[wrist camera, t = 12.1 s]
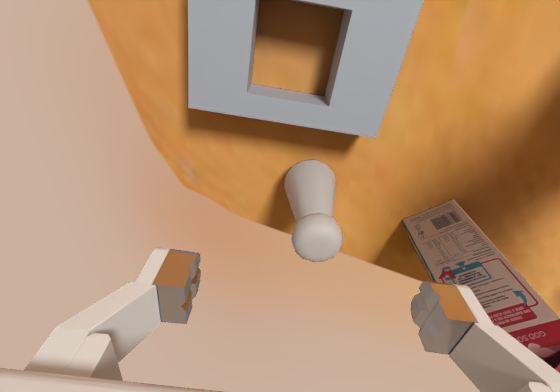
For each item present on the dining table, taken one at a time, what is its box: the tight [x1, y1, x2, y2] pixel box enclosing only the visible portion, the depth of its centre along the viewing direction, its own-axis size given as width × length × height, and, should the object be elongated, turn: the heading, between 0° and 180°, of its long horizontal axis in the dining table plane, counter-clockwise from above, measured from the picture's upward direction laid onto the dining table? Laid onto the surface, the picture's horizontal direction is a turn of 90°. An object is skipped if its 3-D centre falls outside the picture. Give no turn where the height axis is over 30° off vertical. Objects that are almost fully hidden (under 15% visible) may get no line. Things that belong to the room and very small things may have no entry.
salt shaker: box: [284, 159, 343, 262], centre depth 30 cm, size 6×6×13 cm
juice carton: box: [401, 199, 560, 373], centre depth 30 cm, size 7×7×22 cm
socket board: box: [188, 0, 424, 138], centre depth 27 cm, size 18×12×4 cm, turn 81°
